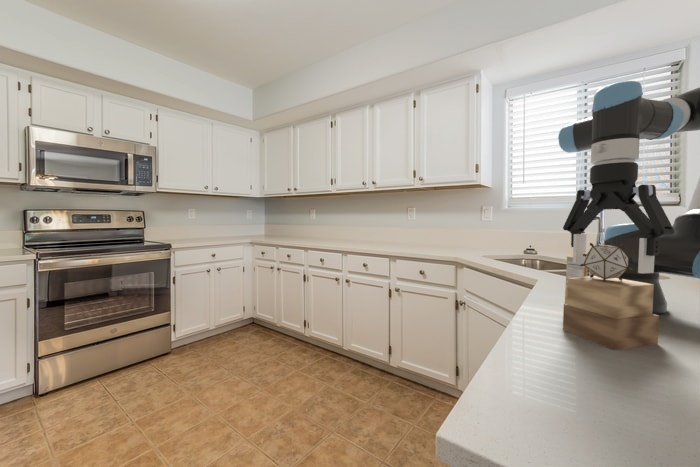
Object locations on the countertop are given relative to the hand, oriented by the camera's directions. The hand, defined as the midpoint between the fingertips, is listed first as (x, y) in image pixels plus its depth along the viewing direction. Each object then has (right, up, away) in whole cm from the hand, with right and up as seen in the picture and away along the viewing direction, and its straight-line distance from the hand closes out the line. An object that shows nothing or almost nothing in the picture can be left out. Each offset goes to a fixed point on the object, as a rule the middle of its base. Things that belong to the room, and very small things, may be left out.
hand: (609, 267), depth 65 cm
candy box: (+5, -14, +16) cm, 22 cm away
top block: (0, -9, +1) cm, 9 cm away
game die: (0, -3, +1) cm, 3 cm away
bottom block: (0, -15, +1) cm, 15 cm away
